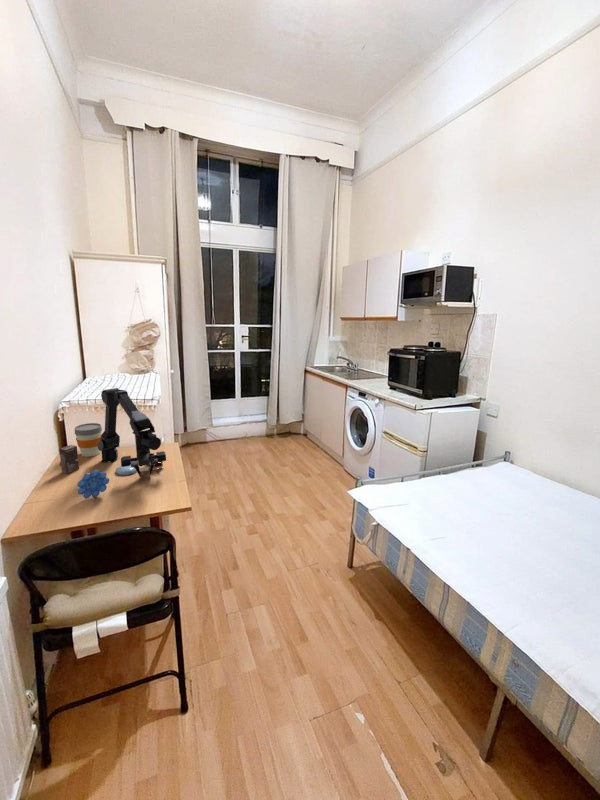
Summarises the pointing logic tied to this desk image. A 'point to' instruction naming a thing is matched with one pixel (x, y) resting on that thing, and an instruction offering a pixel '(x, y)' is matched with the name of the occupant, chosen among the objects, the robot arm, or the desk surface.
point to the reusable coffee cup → (88, 438)
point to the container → (158, 466)
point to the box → (69, 458)
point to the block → (145, 473)
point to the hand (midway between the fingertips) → (145, 475)
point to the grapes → (93, 484)
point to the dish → (125, 470)
